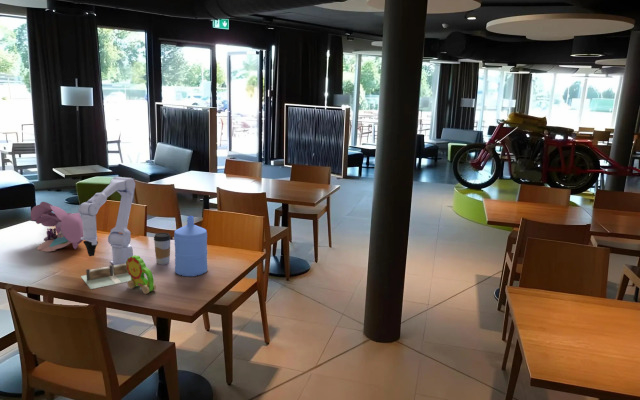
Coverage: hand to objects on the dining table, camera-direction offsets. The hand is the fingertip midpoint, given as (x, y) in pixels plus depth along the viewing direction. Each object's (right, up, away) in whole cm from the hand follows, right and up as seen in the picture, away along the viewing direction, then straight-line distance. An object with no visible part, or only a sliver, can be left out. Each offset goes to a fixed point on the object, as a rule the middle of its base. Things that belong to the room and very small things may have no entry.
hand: (91, 255), depth 229 cm
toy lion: (+27, -14, -10) cm, 32 cm away
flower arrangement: (-37, 0, +40) cm, 55 cm away
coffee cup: (+26, -6, +23) cm, 35 cm away
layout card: (+10, -10, +1) cm, 14 cm away
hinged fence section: (+4, -10, -1) cm, 11 cm away
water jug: (+44, -9, +13) cm, 47 cm away
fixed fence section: (+13, -9, +6) cm, 17 cm away
